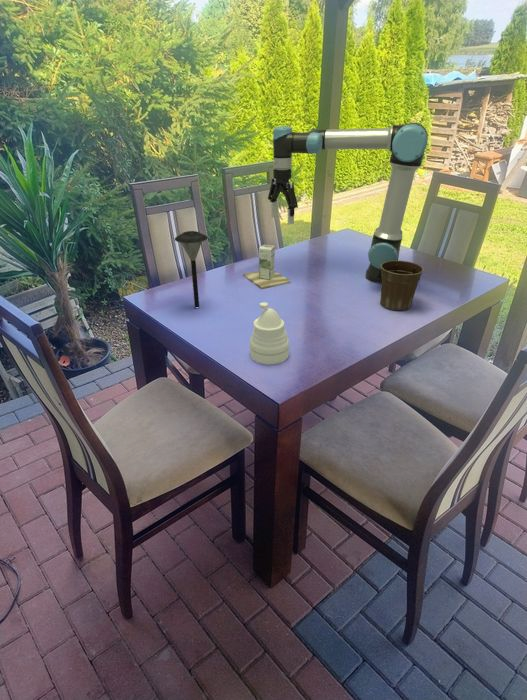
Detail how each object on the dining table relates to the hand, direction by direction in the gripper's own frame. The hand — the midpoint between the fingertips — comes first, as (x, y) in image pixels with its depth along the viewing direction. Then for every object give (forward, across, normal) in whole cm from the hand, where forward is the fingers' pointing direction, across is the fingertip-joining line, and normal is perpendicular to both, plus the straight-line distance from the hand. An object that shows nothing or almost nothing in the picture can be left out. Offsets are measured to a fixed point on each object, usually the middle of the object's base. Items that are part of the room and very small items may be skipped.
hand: (282, 220), depth 194 cm
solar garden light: (+26, +12, -48) cm, 55 cm away
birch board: (+26, 0, -8) cm, 27 cm away
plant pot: (+27, +49, +24) cm, 61 cm away
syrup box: (+25, 0, -8) cm, 26 cm away
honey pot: (+26, +57, -41) cm, 75 cm away
